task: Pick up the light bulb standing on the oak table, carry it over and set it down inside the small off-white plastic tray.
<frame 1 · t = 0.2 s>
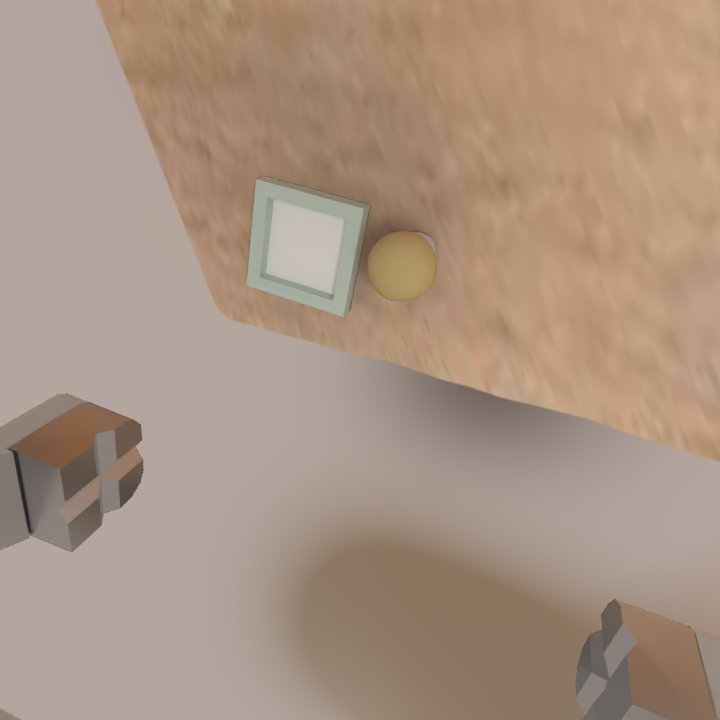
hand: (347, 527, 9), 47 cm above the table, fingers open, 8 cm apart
tray: (309, 245, 59), on the table
light bulb: (419, 248, 55), on the table
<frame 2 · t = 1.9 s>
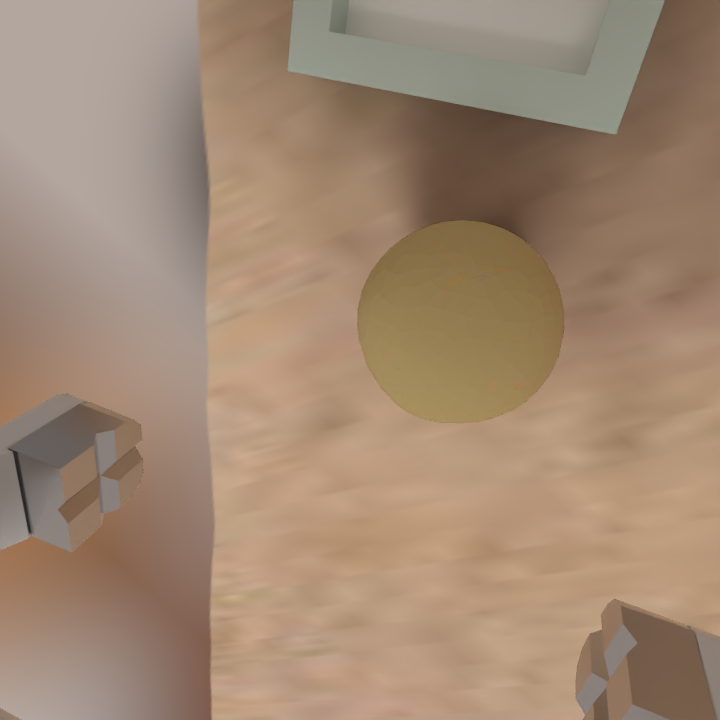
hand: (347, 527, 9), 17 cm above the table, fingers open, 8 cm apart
light bulb: (486, 265, 23), on the table
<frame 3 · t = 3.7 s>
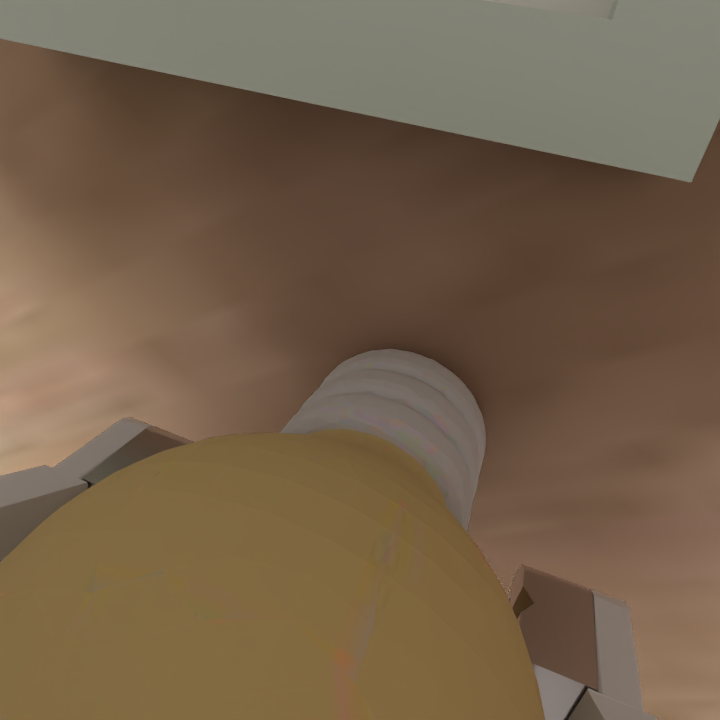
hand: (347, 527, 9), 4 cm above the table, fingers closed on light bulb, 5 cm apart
light bulb: (406, 410, 12), on the table, touching gripper
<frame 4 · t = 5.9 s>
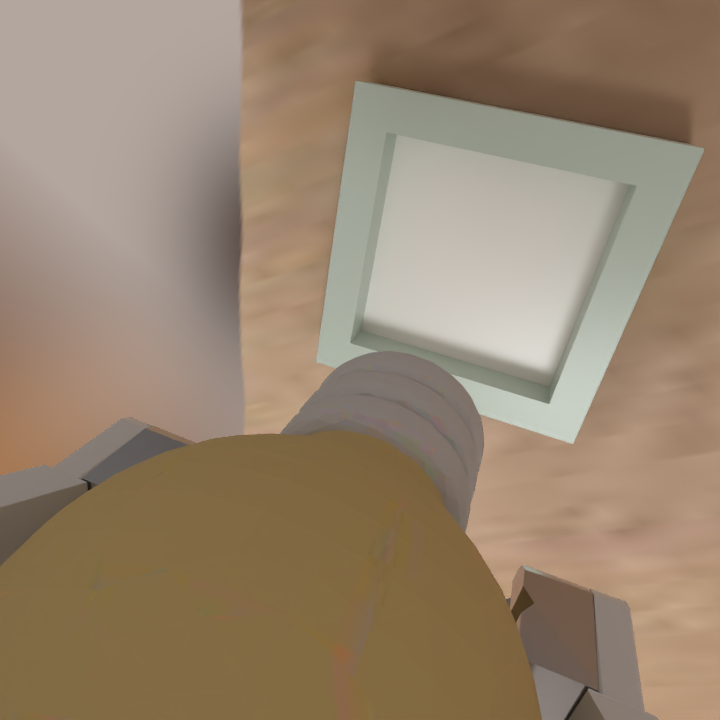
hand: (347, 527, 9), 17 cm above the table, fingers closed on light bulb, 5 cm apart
tray: (479, 261, 23), on the table
light bulb: (405, 411, 12), point 13 cm above the table, touching gripper
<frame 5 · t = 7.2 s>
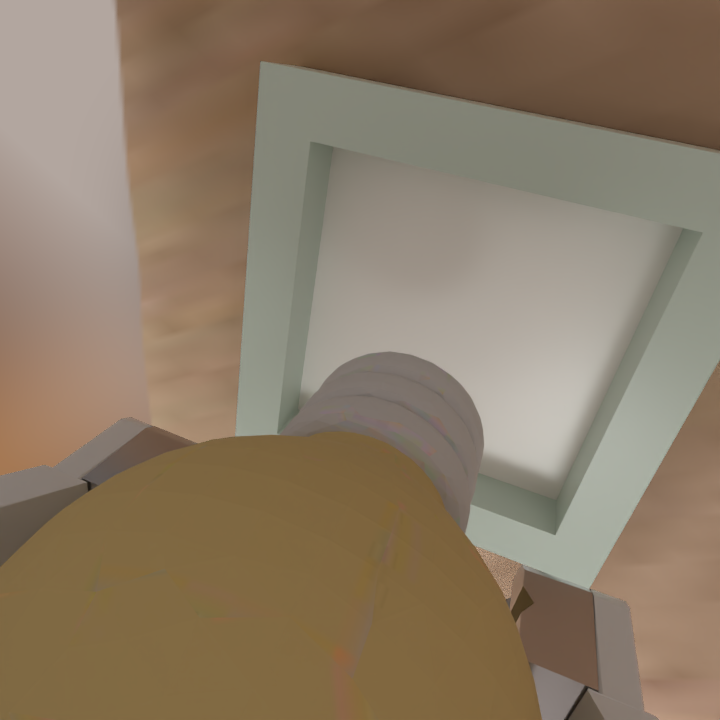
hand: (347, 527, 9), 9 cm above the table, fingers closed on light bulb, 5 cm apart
tray: (457, 325, 16), on the table
light bulb: (405, 412, 12), point 5 cm above the table, touching gripper
when the fingers open (6 cm above the table, at t = 8.4 s): light bulb drops 1 cm, resting on tray.
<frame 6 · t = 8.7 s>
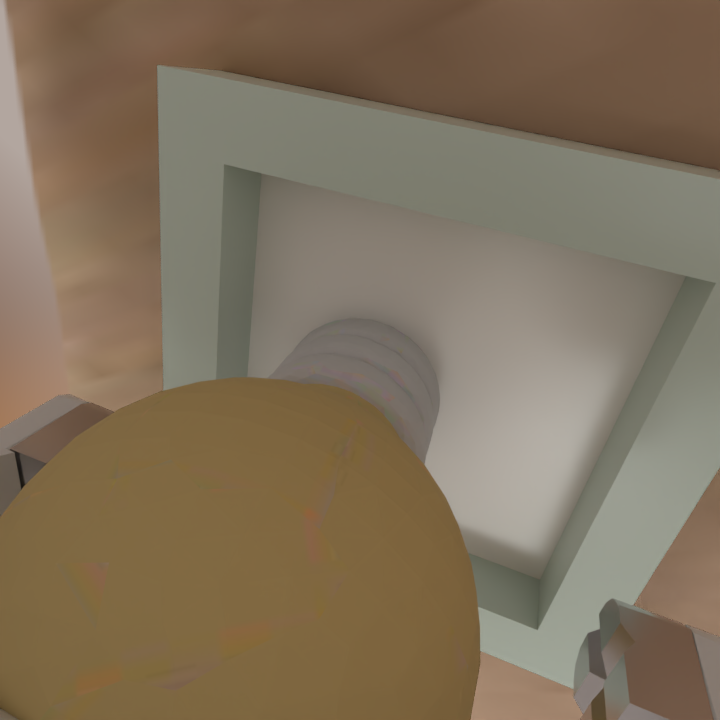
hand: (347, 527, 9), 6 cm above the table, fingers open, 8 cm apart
tray: (419, 377, 14), on the table
light bulb: (370, 375, 13), point 1 cm above the table, touching gripper, tray
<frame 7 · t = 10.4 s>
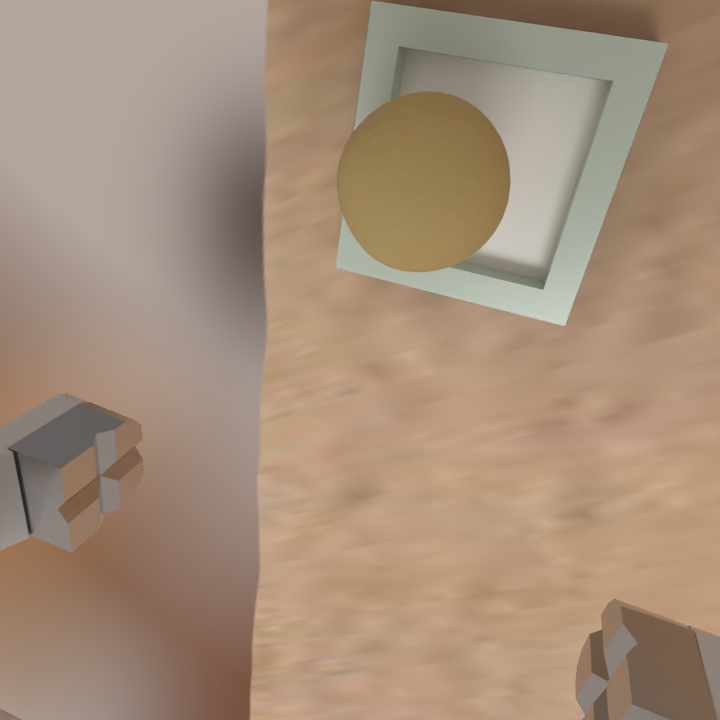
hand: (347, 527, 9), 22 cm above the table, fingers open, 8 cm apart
tray: (479, 169, 26), on the table
light bulb: (453, 166, 26), resting on tray
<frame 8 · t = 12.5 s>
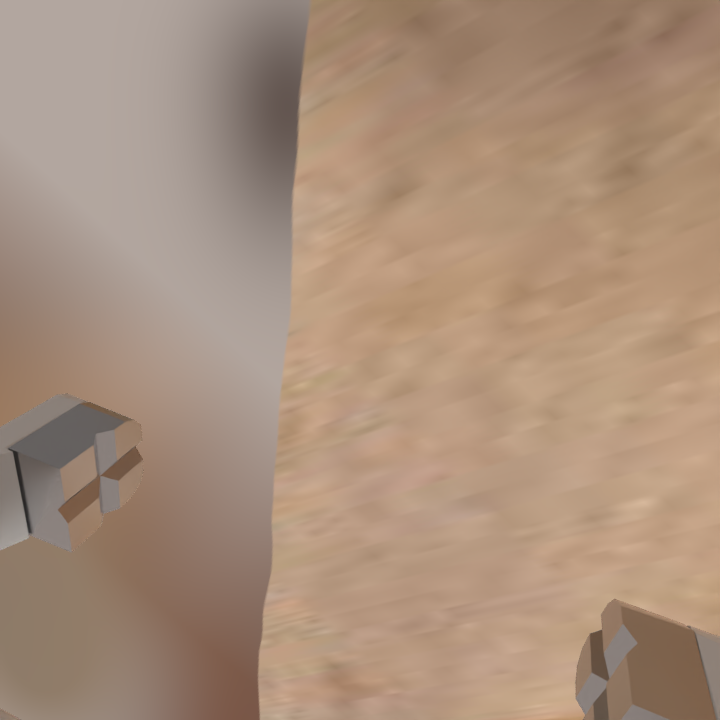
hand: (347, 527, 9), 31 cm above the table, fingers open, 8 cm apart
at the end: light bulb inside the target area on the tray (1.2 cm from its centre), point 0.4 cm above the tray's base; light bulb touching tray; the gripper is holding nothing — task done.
